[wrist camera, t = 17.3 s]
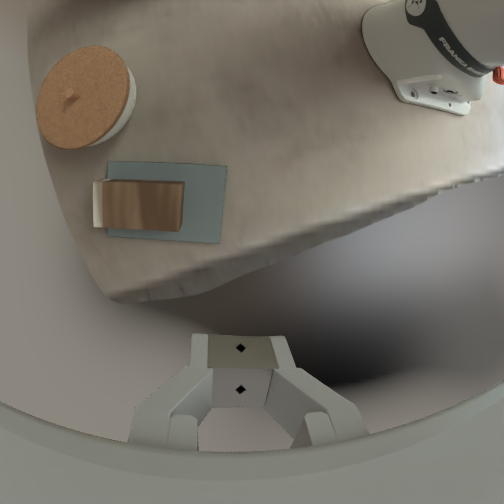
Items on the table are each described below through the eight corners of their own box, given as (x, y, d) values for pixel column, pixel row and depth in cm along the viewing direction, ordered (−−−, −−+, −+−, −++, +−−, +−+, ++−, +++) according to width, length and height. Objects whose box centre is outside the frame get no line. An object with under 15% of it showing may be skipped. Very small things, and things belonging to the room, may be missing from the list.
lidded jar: (138, 51, 24) (112, 22, 15) (156, 128, 28) (132, 120, 19) (63, 87, 24) (22, 75, 15) (79, 161, 28) (37, 168, 19)
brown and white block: (181, 184, 27) (92, 182, 26) (178, 232, 29) (93, 226, 27) (184, 181, 30) (103, 178, 28) (182, 224, 31) (103, 220, 30)
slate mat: (226, 166, 31) (227, 166, 30) (219, 241, 34) (219, 243, 33) (110, 161, 28) (107, 162, 28) (109, 234, 32) (107, 236, 31)
